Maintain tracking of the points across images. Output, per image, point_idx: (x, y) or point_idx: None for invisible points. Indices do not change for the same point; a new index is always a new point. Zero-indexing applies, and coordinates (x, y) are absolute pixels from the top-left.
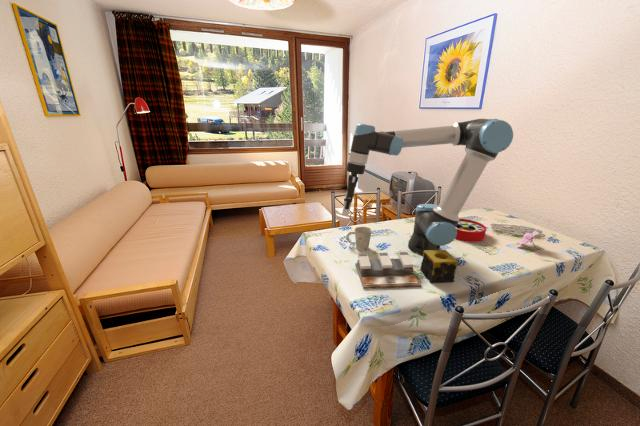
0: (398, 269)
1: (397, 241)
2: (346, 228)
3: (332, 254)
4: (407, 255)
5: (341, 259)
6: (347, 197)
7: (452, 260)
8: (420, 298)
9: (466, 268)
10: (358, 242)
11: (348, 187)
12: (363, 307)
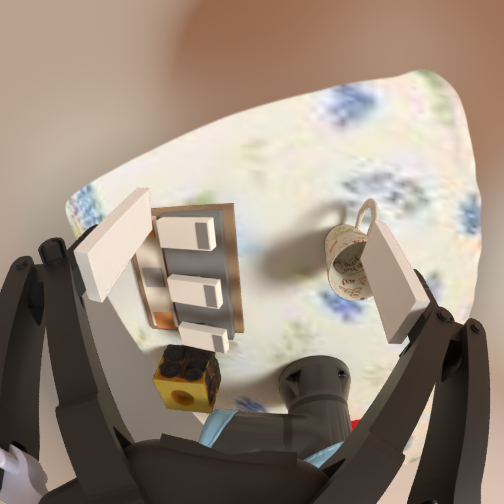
0: (176, 308)
1: (361, 340)
2: (470, 219)
3: (305, 137)
4: (212, 347)
5: (270, 163)
6: (8, 282)
7: (167, 403)
8: (120, 310)
9: (227, 406)
10: (334, 236)
11: (72, 379)
12: (78, 204)
